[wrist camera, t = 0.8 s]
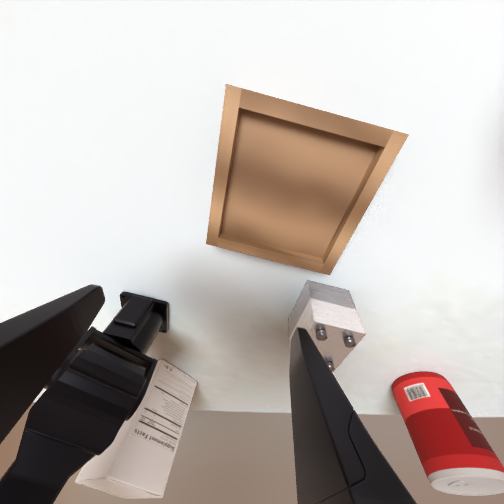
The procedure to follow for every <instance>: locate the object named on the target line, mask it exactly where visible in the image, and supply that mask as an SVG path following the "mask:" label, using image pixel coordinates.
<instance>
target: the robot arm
mask: <svg viewBox="0 0 504 504" xmlns="http://www.w3.org/2000/svg"><path fill="white" fill-rule="evenodd" d="M120 300H121V306H122V309H121V310H120V311H119V312H118V314H117V315H116V316H115V317H114V319H113V320H112V322H111V323H110V324H109V325H108V326H107V328H106V329H105V330H104V331H103V333H102V332H100V331H98V330H96V328H94V327H91V328H90V329H89V330H88V328H89V327H90V325H91V324H92V322H93V320H94V319H95V317H96V316H97V314H98V312H99V311H100V309H101V308H102V306H103V304H104V302H105V296H104V293H103V289H102V287H101V286H98V285H93V284H92V285H88V286H86V287H83V288H81V289H79V290H76V291H74V292H72V293H69V294H67V295H65V296H62V297H60V298H58V299H55V300H53V301H51V302H49V303H46V304H44V305H42V306H39V307H37V308H35V309H32V310H30V311H28V312H25V313H23V314H21V315H18V316H16V317H14V318H11V319H9V320H7V321H4V322H2V323H0V444H1V442H2V441H3V440H4V439H5V437H6V436H7V435H8V434H9V432H10V431H11V430H12V428H13V427H14V426H15V424H16V423H17V422H18V421H19V419H20V418H21V417H22V415H23V414H24V412H25V411H26V410H27V409H28V407H29V406H30V405H31V404H32V402H33V401H34V400H35V398H36V397H37V396H38V395H39V393H40V392H41V391H42V389H43V388H45V389H47V390H46V391H45V392H44V393H43V394H42V396H41V397H40V398H39V399H38V400H37V402H36V403H35V404H34V405H33V406H32V408H31V409H30V411H29V413H28V417H27V421H26V424H25V428H24V432H23V435H22V439H21V442H20V446H19V450H18V453H17V457H16V459H15V461H14V462H13V463H12V464H11V466H10V467H9V468H8V470H7V471H6V472H5V474H4V475H3V476H2V477H1V479H0V504H53V503H54V501H55V500H56V498H57V496H58V495H59V493H60V491H61V490H62V488H63V486H64V485H65V483H66V482H67V480H68V479H69V477H70V476H72V475H73V474H74V473H75V472H76V471H78V470H79V469H80V468H81V467H82V466H84V465H85V464H86V463H87V462H88V461H90V460H91V459H92V458H93V457H94V456H95V455H98V456H99V455H100V454H102V453H103V452H104V451H105V450H106V449H107V448H108V447H109V446H110V445H111V444H112V443H113V441H114V439H115V437H116V435H117V433H118V431H119V430H120V428H121V426H122V425H123V423H124V421H128V420H129V419H130V418H131V417H132V416H133V414H134V413H135V411H136V410H137V408H138V407H139V405H140V404H141V402H142V400H143V398H144V396H145V394H146V391H147V389H148V386H149V383H150V381H151V378H152V375H153V373H154V370H155V367H156V365H157V362H158V360H156V359H152V358H150V357H148V356H146V353H147V351H148V349H149V347H150V346H151V344H152V342H153V340H154V338H155V337H156V335H157V333H158V331H159V332H163V333H166V332H167V331H168V303H167V302H164V301H160V300H156V299H152V298H148V297H144V296H140V295H135V294H131V293H127V292H122V293H121V294H120ZM80 349H81V350H80ZM289 377H290V394H291V409H292V425H293V439H294V454H295V470H296V485H297V500H298V504H417V503H416V502H415V500H414V499H413V498H412V496H411V495H410V493H409V492H408V491H407V489H406V488H405V486H404V485H403V483H402V482H401V480H400V479H399V477H398V476H397V474H396V473H395V472H394V471H393V469H392V467H391V466H390V465H389V463H388V462H387V460H386V459H385V457H384V456H383V454H382V453H381V451H380V450H379V448H378V447H377V445H376V444H375V443H374V441H373V439H372V438H371V436H370V435H369V433H368V431H367V430H366V428H365V427H364V425H363V423H362V422H361V420H360V418H359V417H358V415H357V413H356V412H355V410H353V407H352V405H351V403H350V402H349V400H348V398H347V397H346V395H345V393H344V392H343V390H342V388H341V387H340V385H339V383H338V382H337V380H336V378H335V377H334V375H333V373H332V372H331V370H330V368H329V366H328V365H327V363H326V361H325V360H324V358H323V356H322V355H321V353H320V351H319V350H318V348H317V346H316V345H315V343H314V341H313V340H312V338H311V336H310V335H309V333H308V331H307V330H306V329H305V328H301V327H297V328H296V329H295V332H294V334H293V336H292V338H291V349H290V374H289Z"/></svg>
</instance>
